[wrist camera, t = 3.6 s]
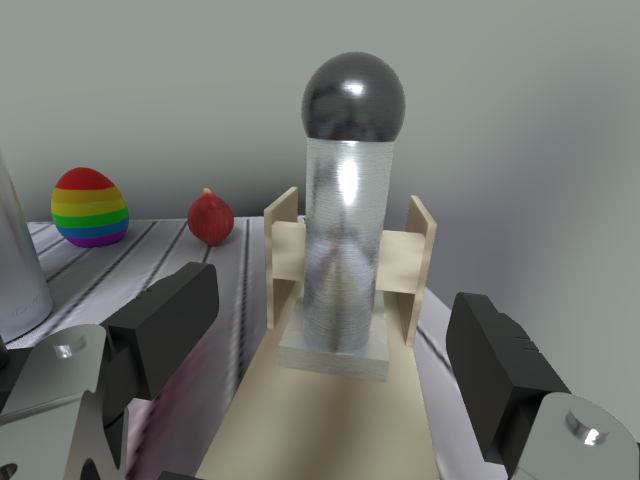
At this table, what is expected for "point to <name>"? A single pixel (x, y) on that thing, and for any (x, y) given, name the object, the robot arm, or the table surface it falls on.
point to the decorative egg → (89, 209)
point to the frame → (331, 377)
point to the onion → (210, 218)
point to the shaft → (345, 218)
